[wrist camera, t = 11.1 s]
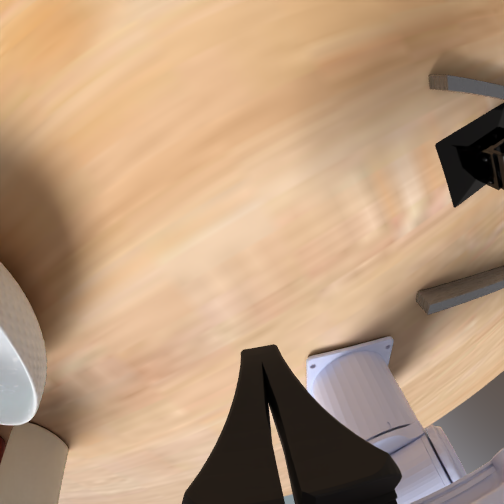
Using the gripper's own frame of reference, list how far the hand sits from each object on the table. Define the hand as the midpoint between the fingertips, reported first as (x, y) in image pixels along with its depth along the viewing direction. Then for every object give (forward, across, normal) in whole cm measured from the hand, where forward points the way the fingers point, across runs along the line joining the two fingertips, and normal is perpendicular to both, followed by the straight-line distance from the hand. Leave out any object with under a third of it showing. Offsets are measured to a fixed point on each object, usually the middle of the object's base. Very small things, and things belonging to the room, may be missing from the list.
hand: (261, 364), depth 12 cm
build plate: (+10, -20, -6) cm, 23 cm away
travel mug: (+10, +29, +21) cm, 37 cm away
